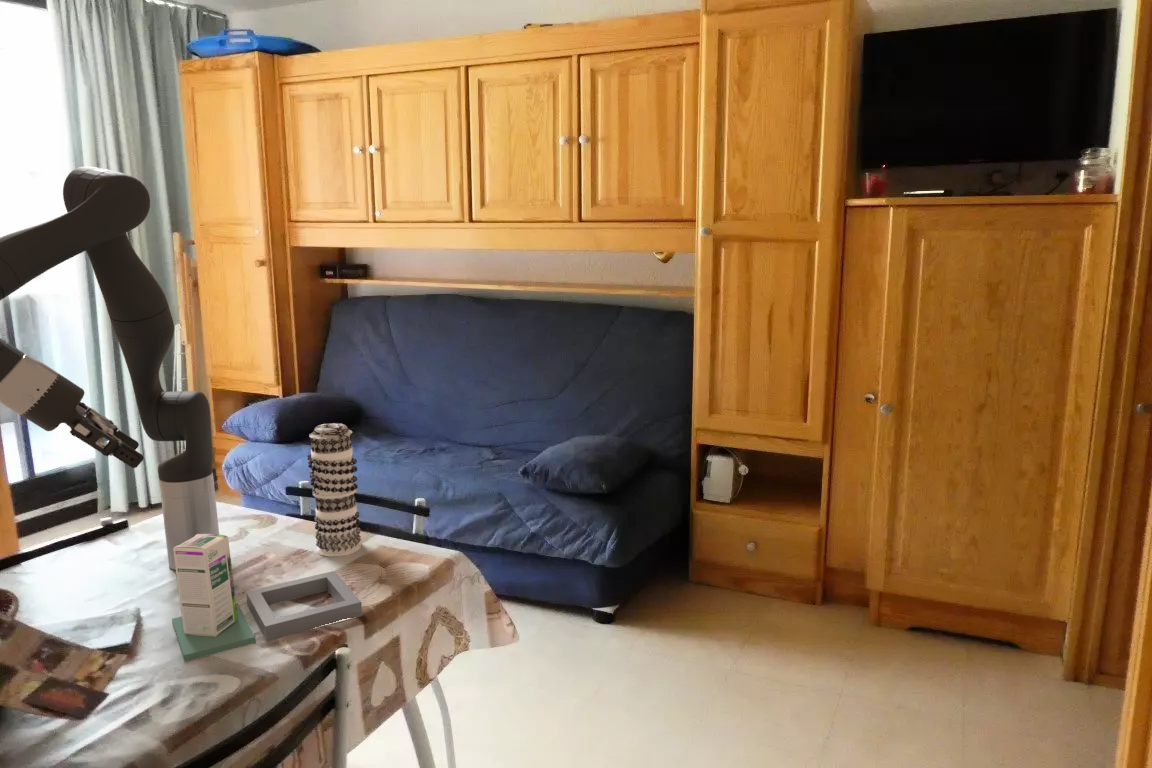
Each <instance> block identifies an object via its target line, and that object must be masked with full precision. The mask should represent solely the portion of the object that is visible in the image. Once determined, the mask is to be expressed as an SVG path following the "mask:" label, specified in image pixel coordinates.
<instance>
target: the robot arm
mask: <svg viewBox="0 0 1152 768" xmlns="http://www.w3.org/2000/svg"><path fill="white" fill-rule="evenodd" d="M62 199H63V203H64V207H65V209H66V213H64V214H62V215H60V216H57V217H55V218H53V219H50V220H48V221H45V222H43V223H40V224H36V225H34V226H29V227H26V228H23V229H21V230H18V231H17V230H16V231H14V232H11V233H8V234H6V235H3V236H1V237H0V301H2V300H4V299H5V298H7V297H9V296H10V295H11V294H13V293H14V292H16V291H17V290H19V289H21V288H22V287H23V286H25V285H26V284H27V283H29V282H31V281H33V280H34V279H36V278H37V277H39V276H40V275H42V274H44V273H46V272H47V271H49V270H51V269H53V268H54V267H56V266H58V265H60V264H61V263H64V262H66V261H67V260H70V259H71V258H74V257H75V256H78V255H79V254H80V255H81V254H82V253H84V252H86V254H87V256H88V259H89V262H90V264H91V266H92V269H93V272H94V275H95V279H96V282H97V284H98V286H99V290H100V292H101V294H102V298H103V300H104V303H105V306H106V310H107V314H108V316H109V320H110V322H111V323H110V324H111V326H112V329H113V331H114V333H115V336H116V339H117V341H118V343H119V347H120V349H121V353H122V356H123V359H124V360H125V364H126V368H127V370H128V373H129V377H130V380H131V383H132V388H133V393H134V396H135V401H136V405H137V410H138V414H139V419H140V421H141V422H140V423H141V425H142V428H143V430H144V432H145V434H146V435H147V437H148V438H149V439H150V440H152V441H155V442H185V450H184V451H182V453H179V454H177V455H174V456H171V457H168V458H167V459H164V460H162V461H161V462H160V463H159V465H157V474H158V482H159V483H158V484H159V489H160V497H161V499H160V500H161V507H162V515H163V525H164V532H165V534H164V535H165V540H166V541H165V542H166V550H167V560H168V567H169V568H170V569H171V570H175V571H176V567H175V559H174V552H173V548H174V547H176V546H178V545H180V544H182V543H183V542H185V541H187V540H189V539H191V538H193V537H194V536H195V535H197V534H219V535H220V529H219V518H218V509H217V501H216V491H215V482H214V481H215V479H214V473H213V472H214V471H213V445H212V444H213V441H212V421H211V420H212V418H211V407H210V403H209V400H208V398H207V396H206V394H204V392H202V391H198V390H185V391H184V390H182V391H178V390H177V391H165V390H164V389H163V387H162V384H161V380H160V370H161V366H162V364H163V361H164V359H165V357H166V355H167V352H168V350H169V348H170V347H171V344H172V341H173V337H174V334H175V323H174V320H173V316H172V313H171V310H170V306H169V303H168V300H167V297H166V294H165V293H164V290H163V288H162V287H161V285H160V284H159V282H158V281H157V280H156V278H155V277H154V274H152V273H151V272H150V270H149V269H148V267H147V265H145V263H144V262H143V261H142V260H141V258H140V257H139V255H138V254H137V253H136V251H135V250H134V247H133V246H132V244H131V242H130V239H129V237H128V234H127V233H129V232H130V231H131V230H132V231H133V230H134V229H136V228H137V227H139V226H141V224H142V223H143V222H144V221H145V220H146V218H147V217H148V216H149V215H148V214H149V212H150V208H151V198H150V194H149V191H148V189H147V187H146V186H145V185H144V183H142V181H140V180H139V179H138V178H136V177H134V176H132V175H129V174H126V173H124V172H120V171H115V170H111V169H106V168H102V167H97V166H87V165H86V166H85V165H84V166H79V167H76V168H73V169H72V170H71V171H70V172H69V173H68V175H67V176H66V178H65V180H64V182H63V189H62ZM84 396H85V391H84V389H83V388H82V387H80V386H78V385H77V384H76V383H74V382H72V381H71V380H70V379H68V378H66V377H65V376H63V375H62V374H60V373H59V372H57V371H56V370H55V369H52V368H51V367H49V366H48V365H46V364H45V363H43V362H42V361H40V360H38V359H36V358H34V357H32V356H30V355H28V354H26V353H25V352H24V351H22V350H20V349H19V348H17V347H16V346H14V345H12V344H11V343H10V342H7V341H6V339H3V338H2V337H0V403H1V404H2V405H3V406H5V407H7V408H8V409H10V410H11V411H13V412H15V413H16V414H18V415H20V416H21V417H23V418H24V419H25V420H28V421H30V422H32V423H33V424H34V425H36V426H38V427H39V428H41V429H42V430H44V431H46V432H52V431H54V430H56V429H57V428H59V426H60V425H61V424H65V425H66V426H67V427H69V428H70V431H69V434H71V436H73V437H76V438H78V439H79V440H80V441H82V442H83V443H85V444H87V445H88V446H90V447H91V448H93V449H94V450H96V451H98V452H99V453H101V454H102V455H103V456H105V457H109V456H110V457H112V456H113V457H114V458H116V459H118V460H119V461H121V462H122V463H124V464H125V465H127V466H129V467H131V468H132V469H136V468H138V466H140V464H141V463H142V462H143V461H144V460H145V459H144V458H145V457H144V455H143V454H142V453H141V452H139V451H137V449H138V448H139V446H140V445H139V442H138V441H137V440H136V439H134V438H132V437H131V436H129V435H128V434H126V433H124V432H123V431H121V430H120V429H119V427H118V426H117V424H115V423H114V422H113V420H111V419H108V418H107V417H106V416H104V415H102V414H100V413H98V411H97V410H95V409H94V408H92V407H91V406H90V407H89V406H88V405H86V403H84V402H82V400H83V398H84ZM105 442H107V443H106V444H105Z"/></svg>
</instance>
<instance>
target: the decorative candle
mask: <svg viewBox="0 0 1152 768" xmlns="http://www.w3.org/2000/svg"><path fill="white" fill-rule="evenodd" d="M351 434H353V430H351V429H349V428H348V426H347V425H346V424H343V423H338V422H332V423H330V422H329V423H323V424H319V425H317V426H315V427H314V429H313V431H312V432H311V433H309V434H308V435H309V436H308V437H309V438H310V446H311V448H310V453H309V454H308V455H307V460H308V463H307V464H308V465H307V467H308V468H309V469H310V471H309V477H310V486H312V487H313V488H312V489H311V491H312V492H311V494H312V496H313V497H314V498H315V499H314V500H315V510H314V511H315V516H314V522H315V524H314V529H315V530H316V532H315V539H316V543H315V546H316V547H317V550H316V551H317V553H318V554H319V555H320V556H322V557H323V556H324V557H333V556H335V557H343V556H346V555H351V554H353V553H354V554H355V552H357V551H359V549H361V547H362V545H361V541H362V539H361V538H362V536H361V528H360V527H359V525H360V524H361V523H360V519H358V518H359V517H360V512H359V511H358V507H357V506H358V505H357V502H356V492H357V491H358V488H359V486H358V484H357V483H355V482H357V481H358V477H357V476H356V475H354V474H355V473H356V472H357V471H358V467H357V466H355V465H356V464H357V462H358V461H357V459H356V458H354V457H353V454H354V452H353V450H354V449H353V445H352V435H351ZM353 473H354V474H353Z"/></svg>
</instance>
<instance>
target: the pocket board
mask: <svg viewBox="0 0 1152 768" xmlns="http://www.w3.org/2000/svg"><path fill="white" fill-rule="evenodd" d="M327 590H328V591H327ZM323 591H324V592H328V593H329V595H330V594H331V595H330V596H331V597H332V598H333V600H334V599H335V600H334V601H335V602H334V603H330V604H326V605H322V606H318V607H315V608H311V609H309V608H308V609H307V610H302V611H297V612H294V613H289V614H286V615H283V616H282V615H281V616H278V617H276V616H275V614H274V612H273V611H272V609H271V607H270V605H275V604H278V603H283V602H287V601H292V600H295V599H299V598H303V597H306V596H311V594H312V595H315V594H316V595H317V594H321V593H324V592H323ZM245 598H246V605H247V607H248V610H249V611H250V613H251V616H252V617H253V619H254V621H255V623H256V624H257V626H258V628H259V630H260V632H261V634H262V635H263V637H264V639H265V642H271V641H273V640H279V639H281V638H284V637H289V636H293V635H296V634H300V633H304V632H307V631H306V630H308V631H311V630H310V629H312V630H314V629H313V628H315V627H319V626H321V625H325V624H329V623H333V622H336V621H339V620H342V619H347V618H353V619H355V618H354V617H357V618H361V617H363V608H362V601H361V600H360V599H359V597H358V596H357V595H356V594H355V593H354V592H353V590H351V588H350V586H348V584H347V583H346V582H345V581H344V580H343V579H342V578H341V577H340V575H338V573H337V572H336V571H335V570H332V571H327V572H325V573H318V574H316V575H315V574H314V575H312V576H311V575H310V576H307V577H303V578H297V579H294V580H290V581H289V580H288V581H285V582H281V583H277V584H272V585H267V586H264V587H259V588H254V589H251V590H246V591H245ZM319 628H320V627H319Z"/></svg>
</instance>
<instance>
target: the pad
mask: <svg viewBox="0 0 1152 768" xmlns="http://www.w3.org/2000/svg"><path fill="white" fill-rule="evenodd" d="M236 608H237V616H238V620H237V621H236V622H234V623H232V624H231V625H230V626H229V627H227V628H226V629H225V630H223V631H222V632H220V633H219V634H218V636H216V637H211V636H199V635H191V634H185V633H184V628H183V620H182V615H181V616H178V617H173V618H172V619H171V622H172V627H173V631H174V633H175V637H176V639H177V641H178V642H177V643H178V646H179V648H180V651H181V652H180V653H181V655H182V659H183V660H184V662H188V661H192V660H196V659H200V658H204V657H207V656H211V655H215V654H219V653H223V652H226V651H230V650H234V649H238V648H241V647H245V646H249V645H252V644H256V636H255V634H254V632H253V630H252V628H251V626H250V624H249V622H248V620H247V618H246V616H245V615H244V613H243V610H242V609H241V607H240V605H239V603H238V602H236Z"/></svg>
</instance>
